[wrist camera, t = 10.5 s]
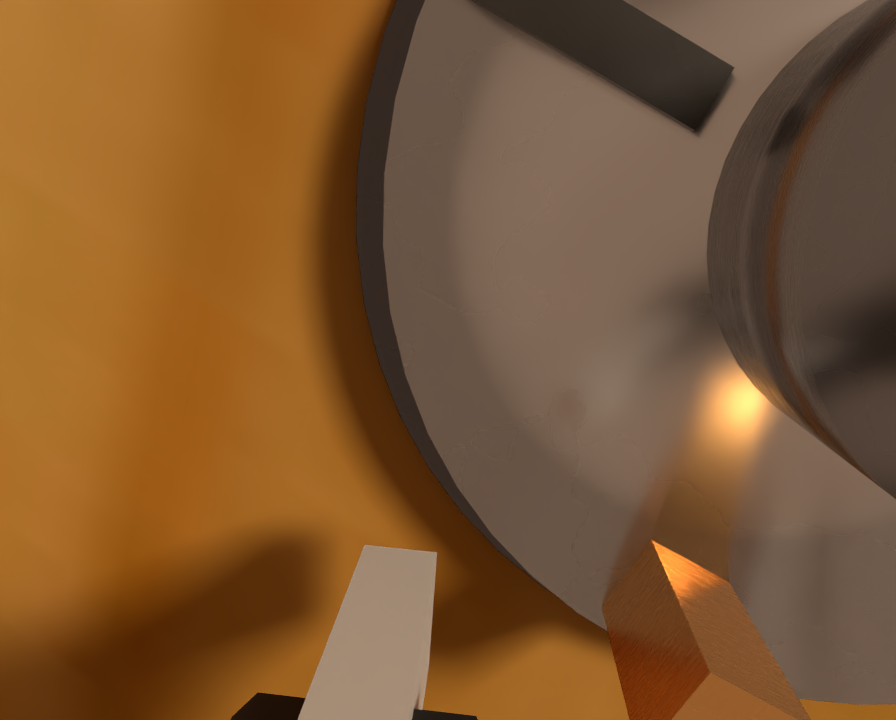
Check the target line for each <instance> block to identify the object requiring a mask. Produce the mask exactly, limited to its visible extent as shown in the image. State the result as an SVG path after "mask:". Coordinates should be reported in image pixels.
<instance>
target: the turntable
mask: <svg viewBox="0 0 896 720" xmlns="http://www.w3.org/2000/svg"><path fill="white" fill-rule="evenodd" d="M865 1H867V0H425V2H424V4H423V7H422V9H421V12H420V14H419V17H418V19H417V21H416V25H415V29H414V32H413V36H412V39H411V43H410V47H409V50H408V54H407V58H406V61H405V65H404V69H403V72H402V76H401V80H400V83H399V87H398V91H397V94H396V98H395V104H394V111H393V118H392V125H391V131H390V138H389V145H388V152H387V159H386V166H385V172H384V218H383V250H384V259H385V268H386V278H387V287H388V296H389V305H390V313H391V317H392V322H393V326H394V330H395V334H396V338H397V342H398V346H399V351H400V355H401V359H402V363H403V367H404V371H405V375H406V378H407V381H408V383H409V386H410V388H411V391H412V393H413V396H414V399H415V401H416V404H417V406H418V409H419V412H420V414H421V417H422V419H423V422H424V425H425V427H426V430H427V432H428V435H429V436H430V438H431V440H432V442H433V444H434V445H435V447H436V449H437V451H438V453H439V455H440V456H441V458H442V460H443V462H444V464H445V466H446V467H447V469H448V471H449V473H450V475H451V477H452V478H453V480H454V482H455V484H456V486H457V487H458V489H459V490H460V491H461V493H462V494H463V495H464V497H465V498H466V500H467V501H468V502H469V504H470V505H471V506H472V508H473V509H474V510H475V512H476V513H477V515H478V516H479V517H480V519H481V520H482V521H483V523H484V524H485V525H486V527H487V528H488V530H489V531H490V532H491V534H492V535H493V536H494V537H495V538H496V539H497V540H498V541H499V542H500V543H501V544H502V545H503V546H504V547H505V548H506V549H507V551H508V552H509V553H510V554H511V555H512V556H513V557H514V558H515V559H516V560H517V561H518V562H519V563H520V564H521V565H522V566H523V567H524V568H525V569H526V570H527V571H528V572H529V573H530V575H531V576H532V577H534V578H535V579H536V580H537V581H539V582H540V583H541V584H542V585H544V586H545V587H546V588H547V589H549V590H550V591H551V592H552V593H553V594H555V595H556V596H557V597H558V598H560V599H561V600H562V601H563V602H565V603H566V604H567V605H568V606H570V607H571V608H572V609H573V610H575V611H576V612H577V613H578V614H580V615H582V616H583V617H585V618H587V619H588V620H590V621H591V622H593V623H595V624H596V625H598V626H600V627H601V628H603V629H604V630H606V631H608V635H609V639H610V643H611V647H612V651H613V655H614V659H615V663H616V667H617V671H618V675H619V679H620V683H621V687H622V691H623V695H624V699H625V703H626V707H627V711H628V715H629V719H630V720H811V719H810V718H809V716H808V714H807V712H806V711H805V709H804V707H803V706H802V704H801V702H800V701H799V699H806V700H816V701H827V702H837V703H848V704H896V499H895V498H893V497H892V496H891V495H889V494H888V493H887V492H886V491H884V490H883V489H882V488H880V487H879V486H878V485H876V484H875V483H874V482H873V481H871V480H870V479H869V478H867V477H866V476H865V475H863V474H862V473H861V472H860V471H858V470H857V469H856V468H854V467H853V466H852V465H850V464H849V463H848V462H847V461H845V460H844V459H843V458H841V457H840V456H839V455H837V454H836V453H835V452H834V451H832V450H831V449H830V448H828V447H827V446H826V445H824V444H823V443H822V442H820V441H819V440H818V439H817V438H815V437H814V436H813V435H811V434H810V433H809V432H807V431H806V430H805V429H804V428H802V427H801V426H800V425H798V424H797V423H796V422H794V421H793V420H792V419H791V418H789V417H788V416H787V415H785V414H784V413H783V412H781V411H780V410H779V409H778V408H776V407H775V406H774V405H773V404H772V403H771V402H770V401H769V400H768V399H767V398H766V397H765V396H764V395H763V394H762V393H761V392H760V391H759V390H758V389H757V388H755V387H754V385H753V384H752V383H751V381H750V380H749V379H748V377H747V376H746V375H745V373H744V372H743V371H742V369H741V368H740V367H739V365H738V364H737V362H736V360H735V358H734V356H733V355H732V353H731V351H730V349H729V347H728V345H727V344H726V342H725V340H724V337H723V334H722V332H721V329H720V326H719V324H718V321H717V318H716V315H715V312H714V308H713V303H712V298H711V294H710V289H709V283H708V269H707V239H708V224H709V218H710V213H711V208H712V203H713V198H714V193H715V189H716V186H717V183H718V180H719V177H720V174H721V171H722V168H723V165H724V162H725V159H726V157H727V155H728V153H729V151H730V149H731V147H732V144H733V142H734V140H735V138H736V136H737V134H738V132H739V129H740V128H741V126H742V124H743V123H744V121H745V120H746V118H747V116H748V115H749V113H750V112H751V110H752V108H753V107H754V105H755V103H756V102H757V100H758V99H759V97H760V96H761V95H762V93H763V92H764V91H765V90H766V88H767V87H768V86H769V85H770V83H771V82H772V81H773V80H774V78H775V77H776V76H777V75H778V73H779V72H780V71H781V70H782V68H783V67H784V66H785V65H786V64H787V63H788V62H789V61H790V60H791V59H792V58H793V57H794V56H795V55H796V54H797V53H798V52H799V51H800V50H801V49H802V48H803V47H804V46H805V45H806V44H807V43H808V42H810V41H811V40H812V39H813V38H815V37H816V36H817V35H818V34H820V33H821V32H822V31H823V30H825V29H826V28H827V27H828V26H830V25H831V24H832V23H833V22H835V21H836V20H837V19H838V18H840V17H841V16H843V15H845V14H846V13H848V12H849V11H851V10H853V9H854V8H856V7H857V6H859V5H861V4H862V3H864V2H865Z"/></svg>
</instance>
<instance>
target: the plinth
mask: <svg viewBox="0 0 896 720" xmlns="http://www.w3.org/2000/svg"><path fill="white" fill-rule="evenodd" d="M424 2H425V0H397V1H396V4H395V6H394V9H393V11H392V14H391V16H390V19H389V22H388V24H387V27H386V29H385V33H384V36H383V40H382V44H381V48H380V52H379V55H378V59H377V63H376V67H375V71H374V74H373V78H372V82H371V86H370V90H369V93H368V97H367V101H366V108H365V116H364V123H363V130H362V138H361V145H360V153H359V160H358V168H357V224H356V240H357V248H358V257H359V265H360V274H361V282H362V290H363V299H364V305H365V309H366V313H367V317H368V321H369V325H370V329H371V333H372V337H373V341H374V345H375V349H376V352H377V356H378V360H379V364H380V366H381V369H382V371H383V374H384V376H385V379H386V381H387V384H388V386H389V389H390V391H391V394H392V396H393V399H394V402H395V404H396V407H397V409H398V412H399V414H400V417H401V419H402V420H403V422H404V424H405V426H406V428H407V430H408V431H409V433H410V435H411V437H412V439H413V440H414V442H415V444H416V446H417V448H418V449H419V451H420V453H421V455H422V457H423V458H424V460H425V462H426V464H427V466H428V467H429V469H430V470H431V472H432V473H433V474H434V476H435V477H436V478H437V480H438V481H439V482H440V484H441V485H442V486H443V488H444V489H445V490H446V492H447V493H448V495H449V496H450V497H451V499H452V500H453V501H454V503H455V504H456V505H457V507H458V508H459V509H460V511H461V512H462V513H463V514H464V515H465V516H466V517H467V519H468V520H469V521H470V522H471V523H472V524H473V525H474V526H475V527H476V528H477V529H478V530H479V531H480V532H481V533H482V534H483V535H484V536H485V537H486V538H487V539H488V540H489V541H490V542H491V544H492V545H493V546H494V547H495V548H496V549H497V550H498V551H499V552H500V553H501V554H502V555H504V556H505V557H506V558H507V559H509V560H510V561H511V562H512V563H514V564H515V565H516V566H517V567H519V568H520V569H521V570H522V571H524V572H525V573H526V574H527V575H529V576H530V577H531V578H532V579H534V580H535V581H536V582H537V583H538V584H540V585H541V586H542V587H543V588H545V589H547V588H546V587H545V586H544V585H542V584H541V583H540V582H539V581H537V580H536V579H535V578H534V577H532V576H531V575H530V573H529V572H528V571H527V570H526V569H525V568H524V567H523V566H522V565H521V564H520V563H519V562H518V561H517V560H516V559H515V558H514V557H513V556H512V555H511V554H510V553H509V552H508V551H507V549H506V548H505V547H504V546H503V545H502V544H501V543H500V542H499V541H498V540H497V539H496V538H495V537H494V536H493V535H492V534H491V532H490V531H489V530H488V528H487V527H486V525H485V524H484V523H483V521H482V520H481V519H480V517H479V516H478V515H477V513H476V512H475V510H474V509H473V508H472V506H471V505H470V504H469V502H468V501H467V500H466V498H465V497H464V495H463V494H462V493H461V491H460V490H459V489H458V487H457V486H456V484H455V482H454V480H453V478H452V477H451V475H450V473H449V471H448V469H447V467H446V466H445V464H444V462H443V460H442V458H441V456H440V455H439V453H438V451H437V449H436V447H435V445H434V444H433V442H432V440H431V438H430V436H429V435H428V432H427V430H426V427H425V425H424V422H423V419H422V417H421V414H420V412H419V409H418V406H417V404H416V401H415V399H414V396H413V393H412V391H411V388H410V386H409V383H408V381H407V378H406V375H405V371H404V367H403V363H402V359H401V355H400V351H399V346H398V342H397V338H396V334H395V330H394V326H393V322H392V317H391V313H390V305H389V296H388V287H387V278H386V268H385V259H384V250H383V218H384V172H385V166H386V159H387V152H388V145H389V138H390V131H391V125H392V118H393V111H394V104H395V98H396V94H397V91H398V87H399V83H400V80H401V76H402V72H403V69H404V65H405V61H406V58H407V54H408V50H409V47H410V43H411V39H412V36H413V32H414V29H415V25H416V21H417V19H418V17H419V14H420V12H421V9H422V7H423V4H424ZM547 590H548V591H550V590H549V589H547ZM550 592H551V591H550ZM551 593H552V592H551Z"/></svg>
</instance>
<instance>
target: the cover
mask: <svg viewBox="0 0 896 720" xmlns="http://www.w3.org/2000/svg"><path fill="white" fill-rule="evenodd" d="M707 269H708V283H709V289H710V294H711V298H712V303H713V308H714V312H715V315H716V318H717V321H718V324H719V326H720V329H721V332H722V334H723V337H724V340H725V342H726V344H727V345H728V347H729V349H730V351H731V353H732V355H733V356H734V358H735V360H736V362H737V364H738V365H739V367H740V368H741V369H742V371H743V372H744V373H745V375H746V376H747V377H748V379H749V380H750V381H751V383H752V384H753V385H754V387H755V388H757V389H758V390H759V391H760V392H761V393H762V394H763V395H764V396H765V397H766V398H767V399H768V400H769V401H770V402H771V403H772V404H773V405H774V406H775V407H776V408H778V409H779V410H780V411H781V412H783V413H784V414H785V415H787V416H788V417H789V418H791V419H792V420H793V421H794V422H796V423H797V424H798V425H800V426H801V427H802V428H804V429H805V430H806V431H807V432H809V433H810V434H811V435H813V436H814V437H815V438H817V439H818V440H819V441H820V442H822V443H823V444H824V445H826V446H827V447H828V448H830V449H831V450H832V451H834V452H835V453H836V454H837V455H839V456H840V457H841V458H843V459H844V460H845V461H847V462H848V463H849V464H850V465H852V466H853V467H854V468H856V469H857V470H858V471H860V472H861V473H862V474H863V475H865V476H866V477H867V478H869V479H870V480H871V481H873V482H874V483H875V484H876V485H878V486H879V487H880V488H882V489H883V490H884V491H886V492H887V493H888V494H889V495H891V496H892V497H893V498H895V499H896V0H867V1H865V2H864V3H862V4H861V5H859V6H857V7H856V8H854V9H853V10H851V11H849V12H848V13H846V14H845V15H843V16H841V17H840V18H838V19H837V20H836V21H835V22H833V23H832V24H831V25H830V26H828V27H827V28H826V29H825V30H823V31H822V32H821V33H820V34H818V35H817V36H816V37H815V38H813V39H812V40H811V41H810V42H808V43H807V44H806V45H805V46H804V47H803V48H802V49H801V50H800V51H799V52H798V53H797V54H796V55H795V56H794V57H793V58H792V59H791V60H790V61H789V62H788V63H787V64H786V65H785V66H784V67H783V68H782V70H781V71H780V72H779V73H778V75H777V76H776V77H775V78H774V80H773V81H772V82H771V83H770V85H769V86H768V87H767V88H766V90H765V91H764V92H763V93H762V95H761V96H760V97H759V99H758V100H757V102H756V103H755V105H754V107H753V108H752V110H751V112H750V113H749V115H748V116H747V118H746V120H745V121H744V123H743V124H742V126H741V128H740V129H739V132H738V134H737V136H736V138H735V140H734V142H733V144H732V147H731V149H730V151H729V153H728V155H727V157H726V159H725V162H724V165H723V168H722V171H721V174H720V177H719V180H718V183H717V186H716V189H715V193H714V198H713V203H712V208H711V213H710V218H709V224H708V239H707Z"/></svg>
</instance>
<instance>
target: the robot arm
mask: <svg viewBox="0 0 896 720" xmlns="http://www.w3.org/2000/svg"><path fill="white" fill-rule="evenodd" d="M436 560H437V552H429V551H419V550H409V549H400V548H390V547H380V546H371V545H364V548H363V550H362V553H361V555H360V558H359V561H358V563H357V566H356V568H355V571H354V574H353V576H352V579H351V581H350V584H349V587H348V589H347V592H346V594H345V597H344V600H343V602H342V605H341V608H340V610H339V613H338V615H337V618H336V621H335V623H334V626H333V628H332V631H331V634H330V636H329V639H328V641H327V644H326V647H325V649H324V652H323V655H322V657H321V660H320V662H319V665H318V668H317V670H316V673H315V675H314V678H313V681H312V683H311V686H310V688H309V691H308V694H307V696H306V698H299V697H291V696H283V695H274V694H266V693H257V694H256V695H255V696H254V697H253V698H252V699H251V700H249V701H248V702H247V703H246V704H245V705H244V706H243V707H242V708H241V709H240V710H239V711H238V712H237V713H236V714H235V715H233V716H232V718H231V720H478V719H477V717H476V716H470V715H462V714H453V713H445V712H436V711H428V710H422V709H423V702H424V695H425V688H426V682H427V675H428V668H429V657H430V644H431V630H432V616H433V602H434V588H435V574H436Z"/></svg>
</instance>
